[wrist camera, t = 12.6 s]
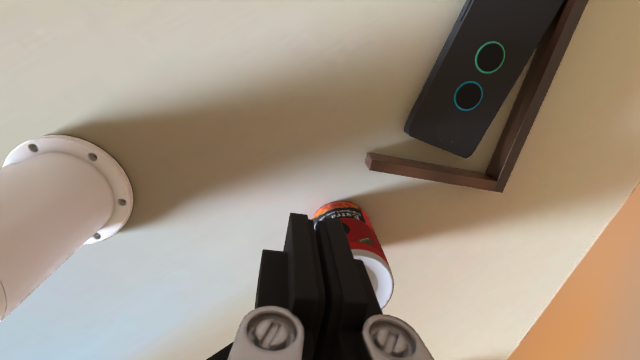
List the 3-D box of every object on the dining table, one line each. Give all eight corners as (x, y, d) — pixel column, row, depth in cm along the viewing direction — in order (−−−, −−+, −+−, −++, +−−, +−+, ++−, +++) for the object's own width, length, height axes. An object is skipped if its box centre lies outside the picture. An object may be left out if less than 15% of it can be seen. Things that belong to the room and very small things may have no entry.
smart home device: (404, 134, 34) (514, -81, 28) (400, 130, 36) (502, -75, 29) (470, 161, 36) (588, -36, 29) (463, 156, 38) (573, -32, 31)
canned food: (358, 189, 38) (381, 241, 28) (377, 243, 41) (404, 307, 31) (297, 211, 39) (298, 270, 29) (321, 263, 42) (329, 332, 32)
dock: (364, 162, 37) (369, 170, 35) (442, -131, 28) (456, -147, 25) (490, 184, 39) (502, 192, 37) (603, -80, 30) (629, -91, 27)
